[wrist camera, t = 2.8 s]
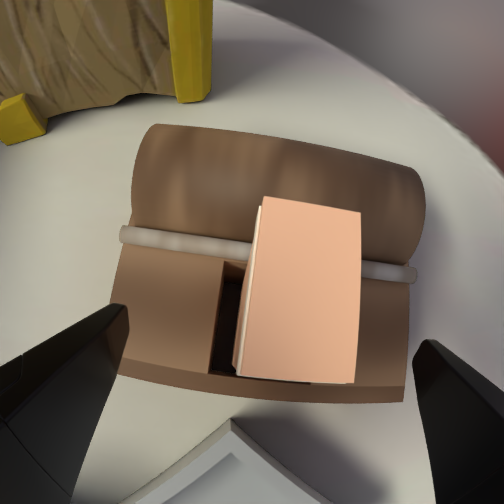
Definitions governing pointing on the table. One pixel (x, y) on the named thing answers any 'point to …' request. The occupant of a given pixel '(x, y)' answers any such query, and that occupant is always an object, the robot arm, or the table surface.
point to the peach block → (300, 295)
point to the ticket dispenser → (238, 251)
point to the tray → (227, 475)
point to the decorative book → (97, 56)
